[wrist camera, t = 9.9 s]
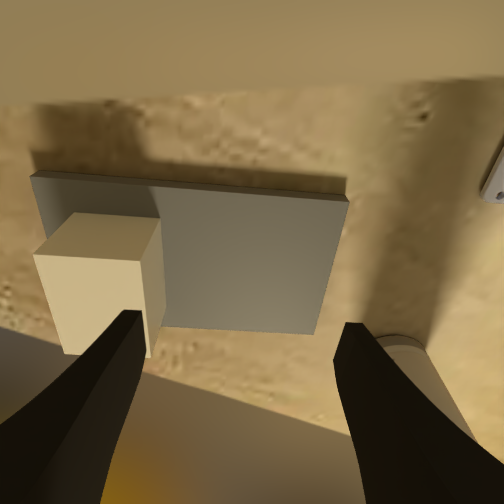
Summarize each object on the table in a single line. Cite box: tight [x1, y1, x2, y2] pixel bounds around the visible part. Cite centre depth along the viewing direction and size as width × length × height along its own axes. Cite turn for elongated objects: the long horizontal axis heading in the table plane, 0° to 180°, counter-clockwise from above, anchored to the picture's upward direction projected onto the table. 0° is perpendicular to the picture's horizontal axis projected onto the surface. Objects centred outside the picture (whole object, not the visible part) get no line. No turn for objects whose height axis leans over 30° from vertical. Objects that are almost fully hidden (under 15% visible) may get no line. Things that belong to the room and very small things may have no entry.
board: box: [30, 170, 350, 335], centre depth 21 cm, size 18×11×4 cm, turn 85°
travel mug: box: [376, 335, 478, 443], centre depth 20 cm, size 6×7×20 cm
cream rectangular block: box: [33, 212, 166, 358], centre depth 20 cm, size 5×7×4 cm
